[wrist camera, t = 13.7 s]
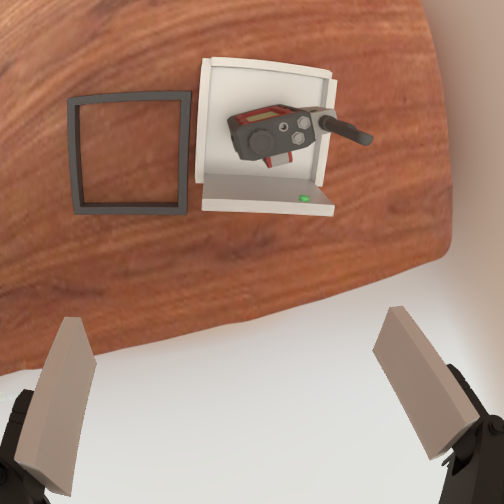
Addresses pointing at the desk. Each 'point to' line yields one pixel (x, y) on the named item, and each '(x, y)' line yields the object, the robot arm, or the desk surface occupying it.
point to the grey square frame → (128, 208)
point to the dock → (256, 172)
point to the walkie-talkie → (285, 131)
